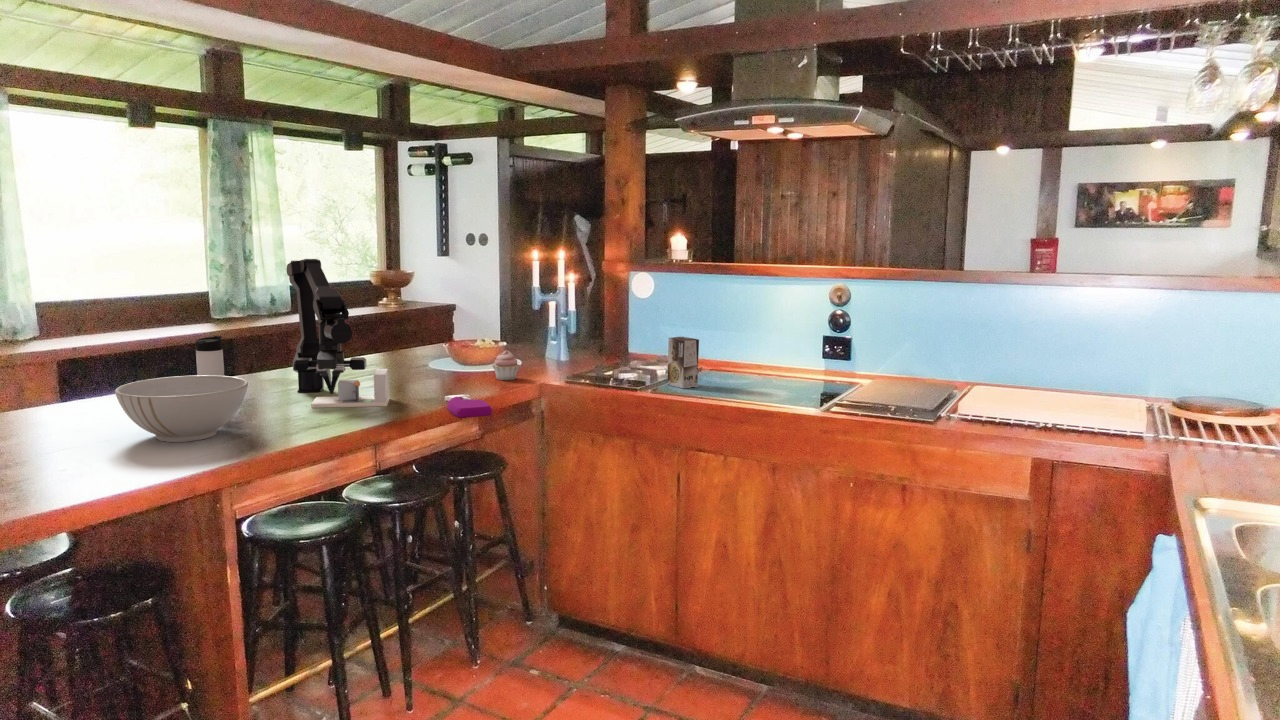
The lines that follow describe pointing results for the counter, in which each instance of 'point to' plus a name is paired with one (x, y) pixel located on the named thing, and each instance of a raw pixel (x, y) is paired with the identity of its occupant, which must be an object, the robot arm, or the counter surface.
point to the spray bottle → (467, 406)
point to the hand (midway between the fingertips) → (331, 393)
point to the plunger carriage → (347, 390)
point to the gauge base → (376, 400)
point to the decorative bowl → (182, 405)
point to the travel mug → (210, 356)
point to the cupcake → (506, 366)
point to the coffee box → (683, 362)
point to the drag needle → (357, 389)
